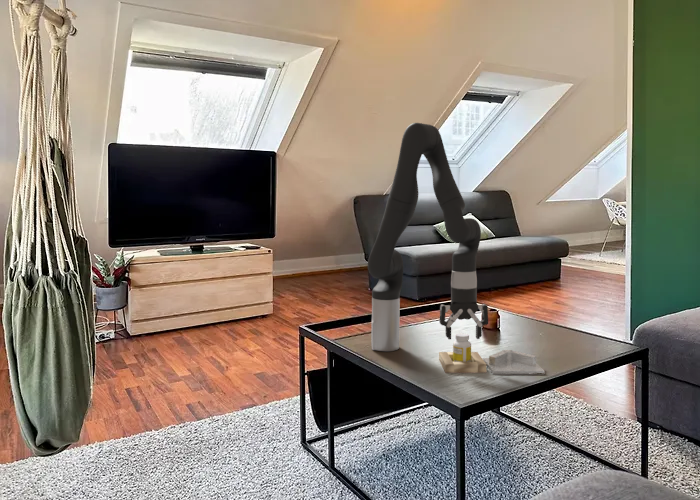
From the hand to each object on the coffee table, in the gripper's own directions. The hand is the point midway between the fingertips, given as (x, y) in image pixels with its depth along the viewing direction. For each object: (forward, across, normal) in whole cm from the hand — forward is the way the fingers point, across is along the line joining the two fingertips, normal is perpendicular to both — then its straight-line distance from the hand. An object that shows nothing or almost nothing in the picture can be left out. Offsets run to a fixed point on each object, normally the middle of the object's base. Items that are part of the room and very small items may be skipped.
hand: (463, 338), depth 171 cm
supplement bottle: (+9, 0, 0) cm, 9 cm away
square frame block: (+9, 0, 0) cm, 9 cm away
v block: (+9, +14, -2) cm, 17 cm away
